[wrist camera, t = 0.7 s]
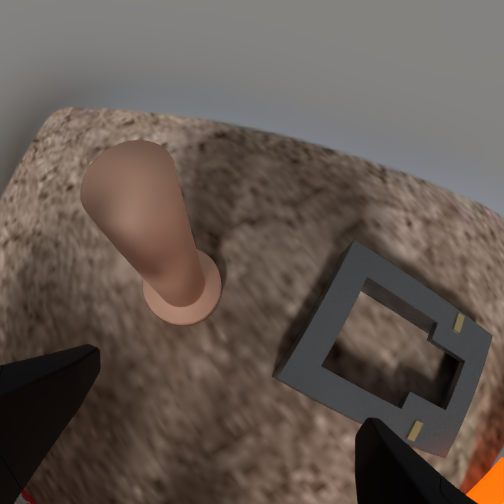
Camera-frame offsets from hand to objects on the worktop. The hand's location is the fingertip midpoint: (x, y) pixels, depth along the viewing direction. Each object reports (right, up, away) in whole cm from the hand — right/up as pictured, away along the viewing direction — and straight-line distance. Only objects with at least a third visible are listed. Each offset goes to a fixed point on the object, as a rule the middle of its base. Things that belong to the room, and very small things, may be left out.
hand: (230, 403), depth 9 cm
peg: (-5, +2, +15) cm, 16 cm away
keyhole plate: (+13, -5, +14) cm, 20 cm away
